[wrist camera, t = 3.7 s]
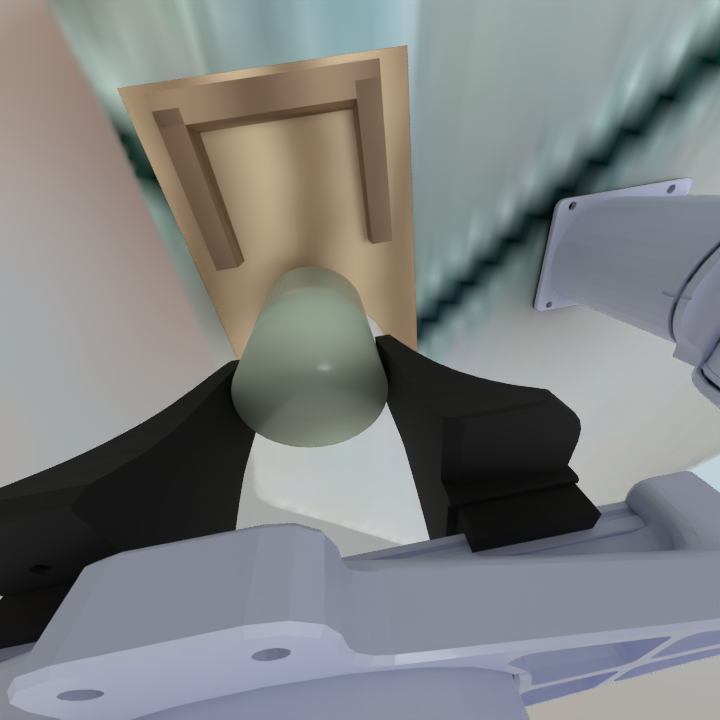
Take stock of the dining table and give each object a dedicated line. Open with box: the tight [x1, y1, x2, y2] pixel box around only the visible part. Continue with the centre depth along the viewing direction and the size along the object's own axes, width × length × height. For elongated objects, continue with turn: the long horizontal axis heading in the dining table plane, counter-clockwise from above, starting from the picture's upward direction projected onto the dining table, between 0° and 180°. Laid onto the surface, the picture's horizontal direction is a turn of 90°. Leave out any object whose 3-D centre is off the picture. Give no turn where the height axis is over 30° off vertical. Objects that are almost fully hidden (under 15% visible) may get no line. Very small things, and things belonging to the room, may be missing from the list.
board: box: [117, 45, 417, 360], centre depth 18 cm, size 14×22×3 cm, turn 8°
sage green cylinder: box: [231, 266, 388, 447], centre depth 13 cm, size 5×8×6 cm, turn 7°
